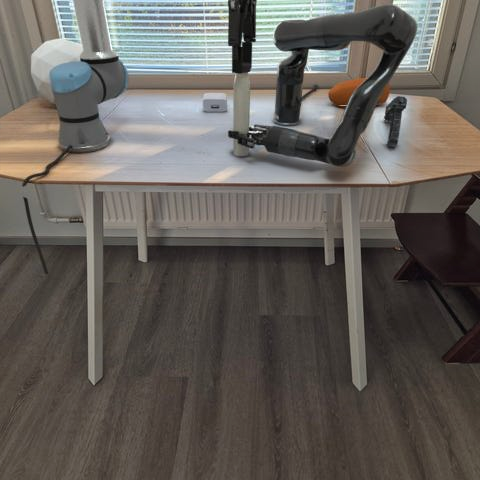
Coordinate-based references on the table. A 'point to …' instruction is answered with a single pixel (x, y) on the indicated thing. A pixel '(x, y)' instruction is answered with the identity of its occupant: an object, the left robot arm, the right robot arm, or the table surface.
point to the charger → (215, 102)
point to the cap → (246, 67)
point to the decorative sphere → (52, 62)
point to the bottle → (241, 110)
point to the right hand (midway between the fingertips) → (233, 130)
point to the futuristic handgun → (395, 118)
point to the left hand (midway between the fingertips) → (242, 70)
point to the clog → (351, 92)
